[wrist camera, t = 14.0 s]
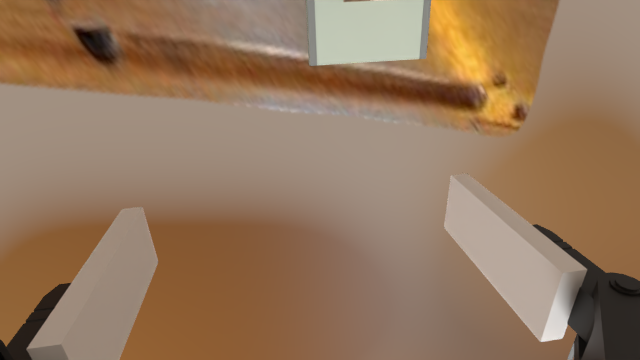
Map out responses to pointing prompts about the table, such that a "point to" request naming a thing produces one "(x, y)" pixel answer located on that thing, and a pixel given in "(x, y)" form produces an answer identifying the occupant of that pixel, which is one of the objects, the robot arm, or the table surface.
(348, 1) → the beige block
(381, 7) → the mat
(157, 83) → the table surface
